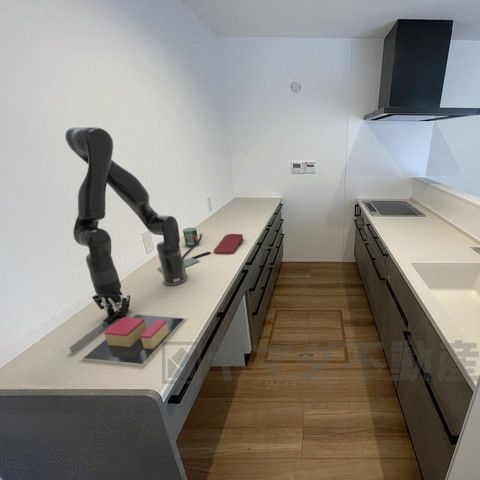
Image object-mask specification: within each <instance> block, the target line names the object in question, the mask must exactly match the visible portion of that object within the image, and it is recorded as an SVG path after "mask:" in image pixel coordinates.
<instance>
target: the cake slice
mask: <svg viewBox="0 0 480 480" xmlns="http://www.w3.org/2000/svg"><path fill="white" fill-rule="evenodd" d="M168 333H169V330H168V326H167V321H164V320H156V321H155V322H154V323H153V324H152V325H151V326H150V327H149V328H148V329H147V330H146V331H145V332H144V333H143V334H142V335H141V340H142V343H143V347H144V348H147V349H154V348H155V347H156V346H157V345H158V344H159V343H160V342H161V341H162V340H163V339H164V338H165V336H166V335H167V334H168Z"/></svg>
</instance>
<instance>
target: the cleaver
mask: <svg viewBox="0 0 480 480" xmlns="http://www.w3.org/2000/svg"><path fill="white" fill-rule="evenodd" d="M207 255H211V252H210V251H205V252H203V253H199V254H198V255H195V256H191V257H190V258H189V257H188V258H185V259H183V261H184V266H185V268H186V267H189V266H191V265H194V264H196V263H198V262H200V261H199V260H198V259H197V258H200V257H204V256H207ZM158 270H159V271H160V272H162V268H161V266H160V267H159V268H158Z"/></svg>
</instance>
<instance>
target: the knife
mask: <svg viewBox="0 0 480 480" xmlns="http://www.w3.org/2000/svg"><path fill="white" fill-rule="evenodd" d="M114 311H115V312H114V313H112V314H111V315H110V316H108V315H107V317H106V318H104V319H103V322H101V323H100V324H98V325H97V326H96V327H94V328H92V329H91V330H90V331H89V332H88V333H86V334H85V335H83V336H82V337H81V338H79V339H78V340H77V341H75V342H74V343H72V344H71V345H70V346H69V347H68V348H69V351H70V353H74V352H75V351H76V350H77V349H78V348H80V347H81V346H83V345H84V344H85V343H87V342H88V341H89V340H90V339H92V338H93V337H94V336H95V335H97V334H98V333H99V332H100V331H102V330H103V329H105V328H107V327H108V326H111V325H113V324H115V323H116V322H117V321H118V320H120V319H119V315H118V311H117V310H114ZM129 311H130V307H129V308H127V309H126V310H125V312H126V313H128V312H129Z"/></svg>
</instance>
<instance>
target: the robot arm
mask: <svg viewBox="0 0 480 480" xmlns="http://www.w3.org/2000/svg"><path fill="white" fill-rule="evenodd" d="M64 138H65V142H66V144H67V146H68V147H69V148H70V150H71V151H73V153H74V154H75V155H77V156H78V157H79V158H80V159H81V160H82V161H83V162H85V163H86V164H87V165H88V166H87V171H86V174H85V176H84V179H83V180H82V182H81V184H80V187H79V189H78V193H77V216H76V219H75V222H74V226H73V234H72V235H73V239H74V241H75V242H76V243H77V244H78V245H80V246H84V247H87V248H88V250H89V253H88V254H87V255H86V256H85V262H86V265H87V268H88V272H89V277H90V280H91V283H92V287H93V289H94V292H95V294H94V295H93V296H92V297H91V298H92V300H93V301H94V303H95V304H96V305H97V307H98V308H99V309H100V310H101V311H103V310H104V311H105V312H106V315H107V317H108V316H110V315H111V314H112V313H114V312H115V311H118V315H119V319H118V320H120V319H122V318H123V317H127V312H125V310H126V309H127V308H129V309H130V303H131V295H124V294H123V293H122V291H121V290H122V284H121V280H120V277H119V274H118V270H117V269H116V266H115V264H114V260H113V257H112V238H111V236H110V234H109V232H108V231H107V230H106V229H104V228H102V227H99V222H100V221H101V220H103V219H105V217H106V197H107V196H106V195H107V194H106V193H107V185H108V186H109V187H110V188H111V189H112V190H113V192H115V194H116V195H117V196H118V197H119V198H120V199H121V200H122V201H123V202H124V203H125V204H126V205H127V206H128V207H129V209H130V210H132V212H133V213H134V214H135V215H136V216H137V217H138V218H139V219H140V221H141V223H142V224H143V226H145V228H146V229H147V230H148V231H149V232H150V233H151V234H153V235H156V236H163V237H162V238H163V240H162V241H159V242H158V243H157V244H156V250H157V255H158V260H159V263H160V267H161V268H162V271H161V273H162V278H163V281H164V284H165V285H167V286H176V285H179V284H182V283H184V282H186V280H187V272H186V267H185V266H184V261H183V260H184V258H185V257H186V255H188V253H189V252H190V251H191V250H192V249H194V248H195V247H194V246H192V247H191V248H189V249H188V250H187V251H186V252H185V253H184V254H183V255H182V252H181V246H180V242H181V237H180V229H179V228H180V227H179V224H178V221H177V218H176V217H174V216H173V215H167V214H166V215H165V214H159V213H157V211H155V210H154V209H153V207H152V206H151V204H150V194H149V191H148V190H147V188H146V187H145V185H144V184H143V183H142V182H141V181H140V179H139V178H138V177H137V176H135V174H133V173H132V172H130V171H129V170H128V169H126V168H124V167H122V166H121V165H120V164H119V163H117V162H116V161H115V160H114V159H113V153H114V141H113V138H112V136H111V134H110V133H109V132H108V131H107V130H105V129H103V128H101V127H96V126H83V125H77V126H71V127H68V128H67V130H66V131H65V134H64ZM201 239H202V233H199V237H198V243H200V241H201Z"/></svg>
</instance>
